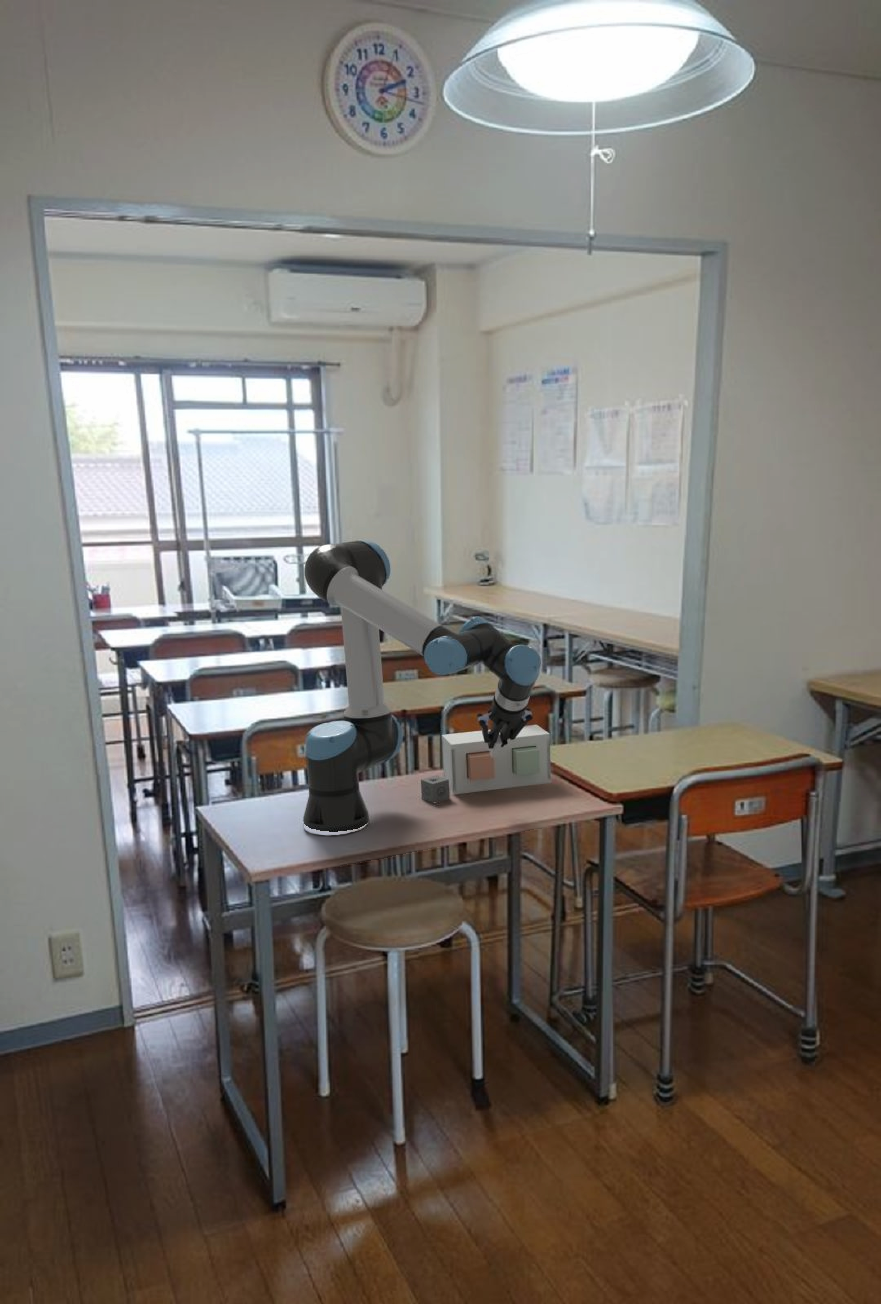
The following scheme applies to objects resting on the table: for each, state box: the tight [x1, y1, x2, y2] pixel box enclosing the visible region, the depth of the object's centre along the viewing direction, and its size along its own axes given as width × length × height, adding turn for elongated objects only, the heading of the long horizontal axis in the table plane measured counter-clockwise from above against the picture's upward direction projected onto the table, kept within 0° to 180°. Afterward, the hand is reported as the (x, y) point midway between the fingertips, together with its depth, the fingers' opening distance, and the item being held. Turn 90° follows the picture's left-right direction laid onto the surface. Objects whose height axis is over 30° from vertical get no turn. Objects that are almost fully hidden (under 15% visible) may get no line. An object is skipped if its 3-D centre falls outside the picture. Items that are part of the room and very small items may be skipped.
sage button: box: [512, 746, 540, 775], centre depth 234 cm, size 6×7×6 cm
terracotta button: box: [466, 751, 494, 781], centre depth 231 cm, size 6×7×6 cm
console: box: [441, 724, 552, 795], centre depth 237 cm, size 26×10×13 cm, turn 104°
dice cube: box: [420, 774, 451, 804], centre depth 227 cm, size 5×5×5 cm
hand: (492, 752), depth 219 cm, fingers closed
